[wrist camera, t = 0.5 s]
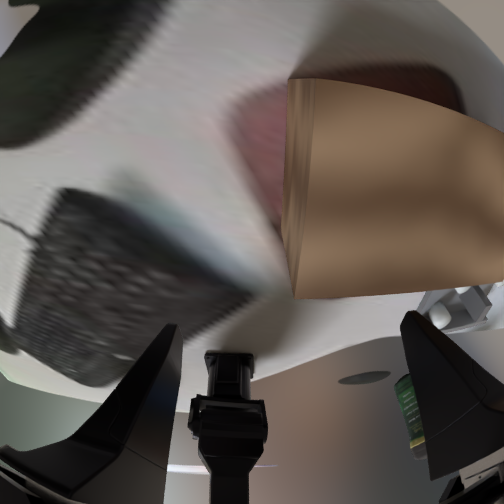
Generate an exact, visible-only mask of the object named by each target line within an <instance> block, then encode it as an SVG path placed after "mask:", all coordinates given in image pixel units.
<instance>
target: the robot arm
mask: <svg viewBox="0 0 504 504" xmlns="http://www.w3.org/2000/svg"><path fill="white" fill-rule="evenodd" d="M400 331H401V336H402V341H403V346H404V350H405V356H406V361H407V365H408V369H409V372H410V376H411V380H412V383H413V387H414V391H415V395H416V400H417V404H418V408H419V413H420V418H421V423H422V428H423V433H424V439H425V445H426V451H427V458H428V465H429V473H430V480H431V481H433V480H436V479H439V478H441V477H444V476H446V475H449V474H451V473H454V472H456V471H458V470H459V472H460V475H458V476H456V477H454V478H453V479H451V480H450V481H449V483H448V485H447V487H446V489H445V491H444V493H443V494H442V496H441V498H440V500H439V504H504V384H503V383H501V382H500V381H499V380H497V379H496V378H495V377H494V376H492V375H491V374H490V373H489V372H487V371H486V370H485V369H484V368H482V367H481V366H480V365H479V364H478V363H477V362H476V361H475V360H474V359H472V358H471V357H470V356H469V355H468V354H467V353H466V352H465V351H464V350H462V349H461V348H460V347H459V346H458V345H457V344H456V343H454V342H453V341H452V340H451V339H450V338H449V337H448V336H446V335H445V334H444V333H443V332H442V331H441V330H439V329H438V328H437V327H436V326H435V325H433V324H432V323H431V322H430V321H429V320H427V319H426V318H425V317H424V316H423V315H421V314H420V313H419V312H418V311H416V310H413V311H408V312H407V313H406V314H405V316H404V318H403V320H402V322H401V325H400ZM182 350H183V337H182V334H181V331H180V328H179V325H178V324H173V323H168V324H166V325H165V327H164V328H163V329H162V330H161V332H160V333H159V334H158V335H157V337H156V338H155V339H154V340H153V341H152V343H151V344H150V345H149V346H148V348H147V349H146V350H145V351H144V353H143V354H142V355H141V356H140V358H139V359H138V360H137V361H136V363H135V364H134V365H133V366H132V368H131V369H130V370H129V371H128V373H127V374H126V375H125V376H124V378H123V379H122V380H121V382H120V383H119V384H118V385H117V387H116V389H114V390H113V392H112V393H111V394H110V395H109V397H108V398H107V399H106V400H105V401H104V403H103V404H102V405H101V406H100V407H99V409H97V410H96V412H95V413H94V414H93V415H92V416H91V417H90V418H89V419H88V420H87V421H86V422H85V423H84V424H83V425H82V426H81V427H80V428H79V429H78V430H77V431H76V432H75V433H74V434H72V435H71V436H70V437H68V438H67V439H65V440H62V441H60V442H57V443H53V444H50V445H47V446H43V447H40V448H37V449H33V450H29V451H18V450H16V449H15V448H13V447H11V446H9V445H7V444H6V445H4V446H1V447H0V459H1V460H2V461H3V462H5V463H6V464H8V465H9V466H10V467H12V468H13V469H15V470H16V471H18V472H20V473H21V474H20V473H18V472H16V471H13V470H12V469H9V468H7V467H5V466H4V465H1V464H0V504H163V501H164V491H165V482H166V474H167V465H168V457H169V450H170V442H171V436H172V429H173V423H174V416H175V410H176V404H177V398H178V392H179V386H180V380H181V367H182ZM204 359H205V363H206V366H207V370H208V374H209V378H208V390H207V396H203V395H200V394H197V396H196V398H192V399H191V405H190V413H189V419H188V428H189V429H190V430H191V434H193V439H195V440H197V439H198V440H199V443H198V455H199V457H200V459H201V460H202V462H203V464H204V465H205V467H206V469H207V470H208V472H209V473H210V490H209V491H210V492H209V504H249V472H250V471H251V470H252V468H253V467H254V465H255V464H256V462H257V460H258V459H259V458H260V456H261V455H262V453H263V451H264V449H263V444H265V443H266V440H267V435H268V423H267V417H266V411H265V404H264V400H251V392H250V379H252V378H253V355H252V354H211V353H206V354H205V356H204ZM200 411H201V412H200ZM22 474H23V475H22Z"/></svg>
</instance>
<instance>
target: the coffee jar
mask: <svg viewBox="0 0 504 504" xmlns="http://www.w3.org/2000/svg"><path fill="white" fill-rule="evenodd" d="M394 390H395V392H396V396H397V399H398V401H399V404H400V407H401V410H402V413H403V416H404V419H405V422H406V425H407V429H408V433H409V437H410V448H411V450H412V453H413V457H414V458H415V459H418V460H422V459H426V458H427V451H426V445H425V439H424V433H423V428H422V423H421V418H420V413H419V408H418V404H417V400H416V395H415V391H414V387H413V383H412V380H411V376H410V373H409V374H406V375H404V376H403V377H402V378H400V380H399V381H398V382H397V383H396V384H395V386H394Z"/></svg>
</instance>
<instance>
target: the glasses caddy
mask: <svg viewBox="0 0 504 504" xmlns="http://www.w3.org/2000/svg"><path fill="white" fill-rule="evenodd" d="M493 284H494V283H491V284H484V285H476V286H469V287H460V288H452V289H443V290H433V291H426V293H425V295H424V297H423V299H422V301H421V303H420V304H419V306H418V308H417V310H416V311H418V312H419V313H420V314H421V315H423V316H424V317H425V318H426V319H427V320H429V321H430V322H431V323H432V324H433V325H435V326H436V327H437V328H438V329H439V330H441V331H442V332H443V333H448V332H453V331H457V330H461V329H465V328H469V327H473V326H477V325H480V324H484V323H486V321H487V320H488V319H487V318H486V314H487V313H488V311H489V310H490V308H491V307H492V304H491V302H490V301H489V299H488V298H487V295H488V293H489V291H490V289H491V288H492V286H493ZM495 284H496V286H497V287H498V288H500V287H502V286H503V285H504V280H503V282H498V283H495Z"/></svg>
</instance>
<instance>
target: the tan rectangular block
mask: <svg viewBox="0 0 504 504" xmlns="http://www.w3.org/2000/svg"><path fill="white" fill-rule="evenodd" d="M281 232H282V237H283V242H284V247H285V252H286V258H287V263H288V268H289V273H290V279H291V284H292V290H293V295H294V299H317V298H339V297H358V296H374V295H388V294H400V293H412V292H423V291H433V290H443V289H452V288H460V287H469V286H476V285H484V284H491V283H498V282H503V280H504V133H503V132H501V131H499V130H497V129H495V128H493V127H491V126H489V125H486V124H484V123H482V122H480V121H478V120H475V119H473V118H471V117H468V116H466V115H463V114H461V113H458V112H456V111H453V110H450V109H448V108H445V107H442V106H439V105H436V104H433V103H430V102H427V101H424V100H421V99H417V98H414V97H411V96H407V95H403V94H399V93H396V92H392V91H387V90H383V89H379V88H374V87H369V86H364V85H359V84H353V83H347V82H341V81H334V80H327V79H319V78H306V79H288V95H287V124H286V147H285V167H284V186H283V202H282V218H281Z"/></svg>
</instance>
